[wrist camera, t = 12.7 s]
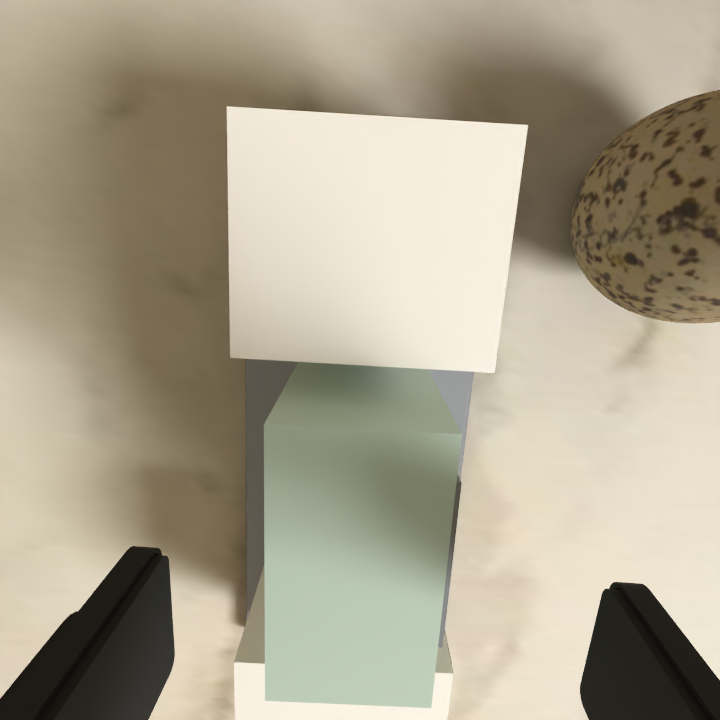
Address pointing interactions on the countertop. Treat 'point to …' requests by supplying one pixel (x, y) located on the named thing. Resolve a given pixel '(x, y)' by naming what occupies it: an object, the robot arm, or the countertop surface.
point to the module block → (358, 535)
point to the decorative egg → (656, 215)
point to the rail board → (360, 291)
